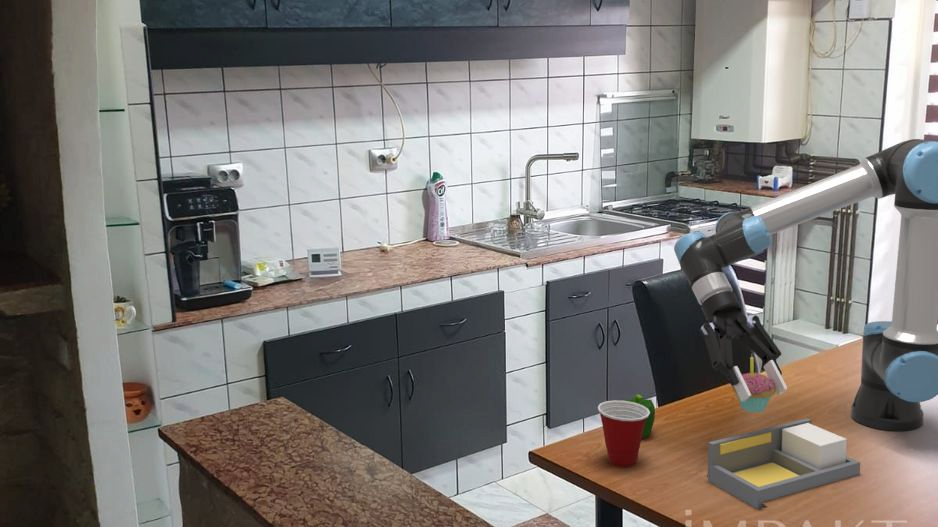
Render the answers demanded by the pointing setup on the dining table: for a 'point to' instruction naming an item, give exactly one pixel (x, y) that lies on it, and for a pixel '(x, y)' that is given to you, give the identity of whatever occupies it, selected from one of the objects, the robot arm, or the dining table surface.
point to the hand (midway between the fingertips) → (764, 395)
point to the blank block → (814, 446)
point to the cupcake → (756, 390)
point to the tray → (767, 467)
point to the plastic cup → (623, 430)
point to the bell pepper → (651, 417)
